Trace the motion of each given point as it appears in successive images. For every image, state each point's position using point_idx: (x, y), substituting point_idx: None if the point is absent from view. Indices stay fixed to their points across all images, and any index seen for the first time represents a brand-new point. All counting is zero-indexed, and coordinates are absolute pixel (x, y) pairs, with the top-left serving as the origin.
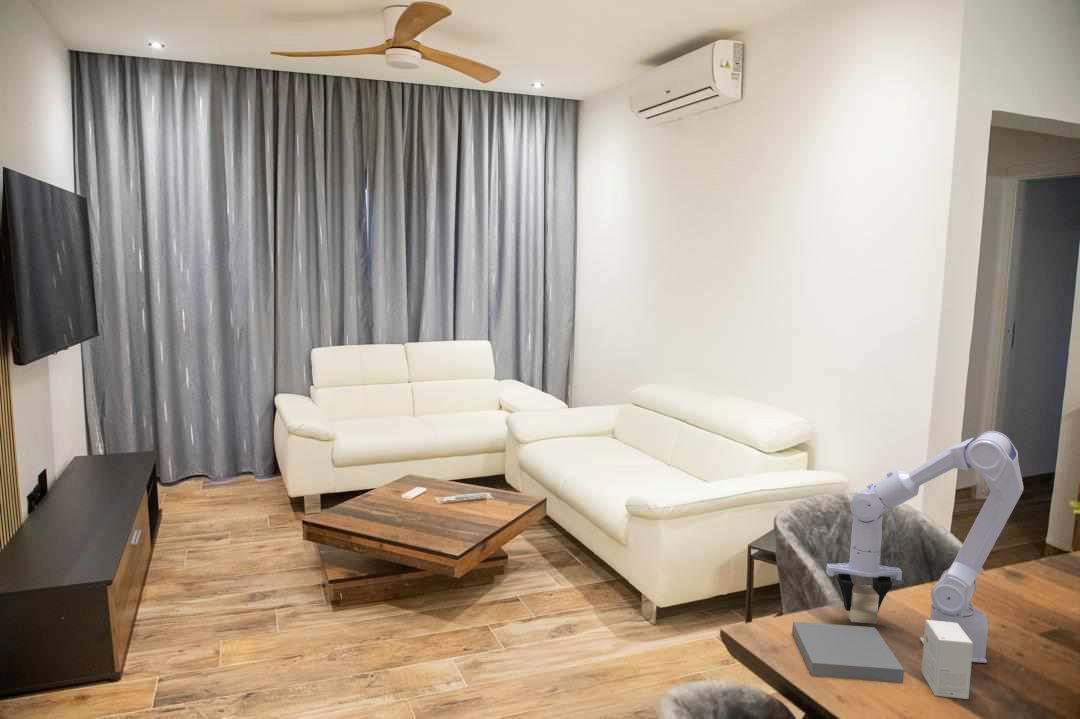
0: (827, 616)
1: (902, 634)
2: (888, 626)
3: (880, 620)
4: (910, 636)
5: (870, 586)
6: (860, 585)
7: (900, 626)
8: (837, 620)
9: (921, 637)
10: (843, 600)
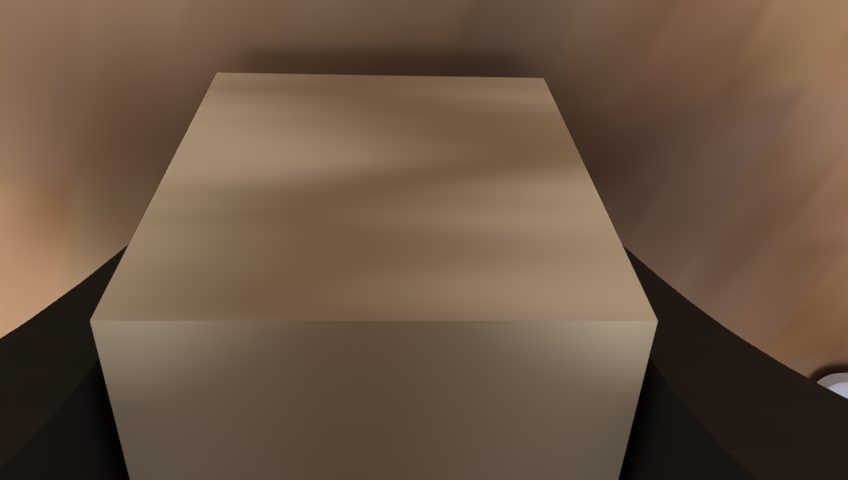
0: (29, 6)
1: (728, 296)
2: (683, 163)
3: (671, 31)
4: (780, 319)
5: (618, 361)
6: (408, 346)
7: (817, 147)
8: (145, 98)
9: (841, 387)
10: (125, 247)
